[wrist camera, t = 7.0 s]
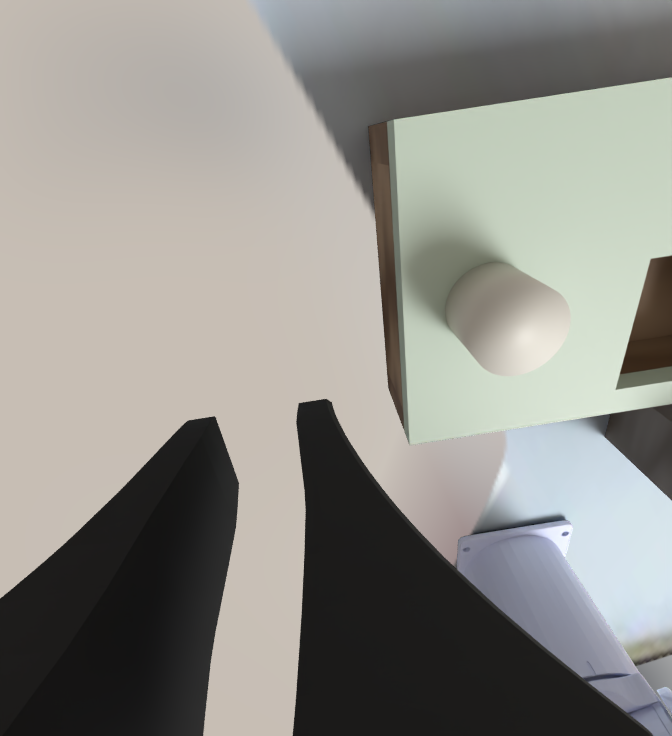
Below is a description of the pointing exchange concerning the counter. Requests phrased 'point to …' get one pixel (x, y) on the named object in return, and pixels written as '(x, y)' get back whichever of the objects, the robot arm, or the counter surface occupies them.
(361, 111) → the counter surface
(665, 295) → the brown box
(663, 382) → the lid
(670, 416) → the block
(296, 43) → the counter surface
